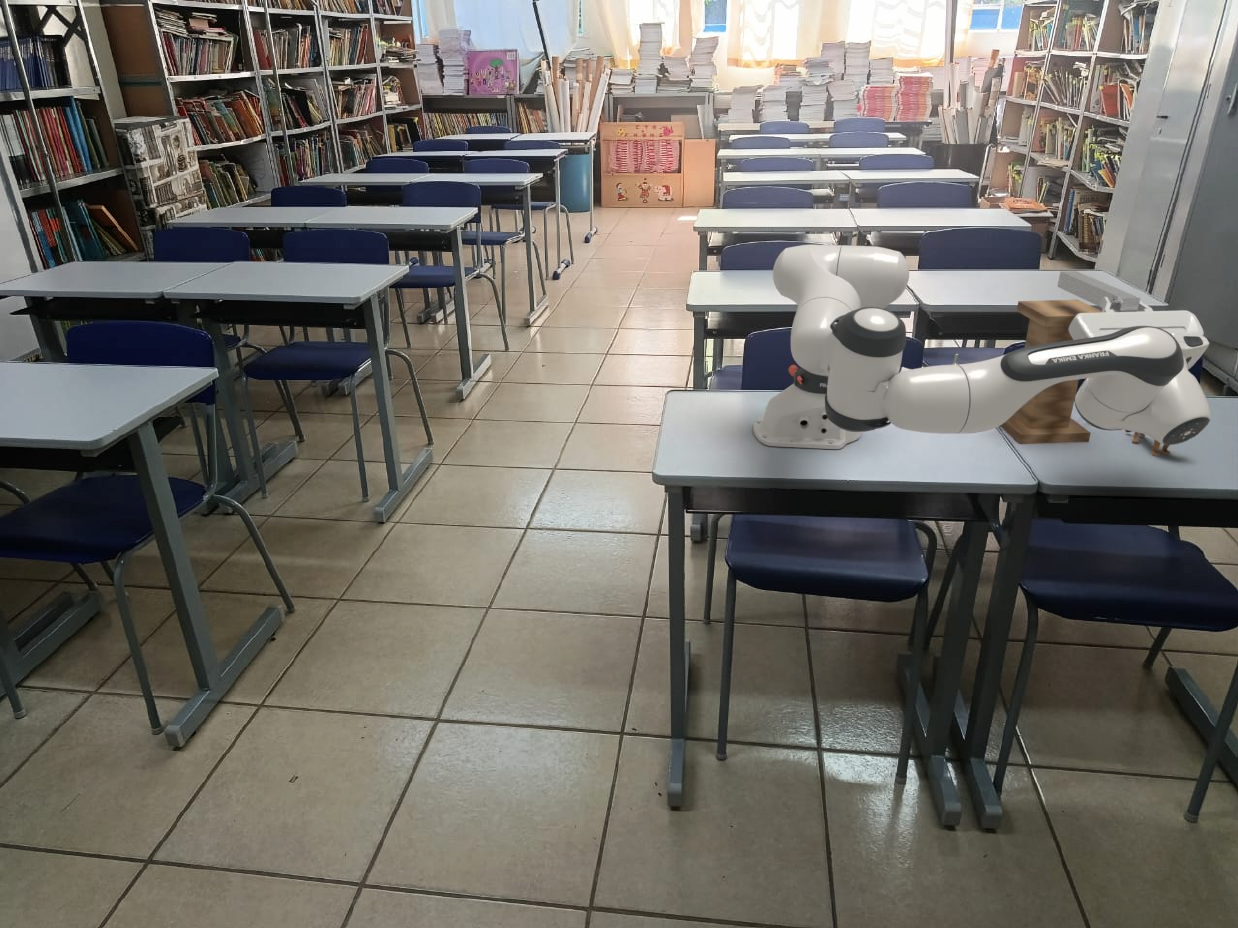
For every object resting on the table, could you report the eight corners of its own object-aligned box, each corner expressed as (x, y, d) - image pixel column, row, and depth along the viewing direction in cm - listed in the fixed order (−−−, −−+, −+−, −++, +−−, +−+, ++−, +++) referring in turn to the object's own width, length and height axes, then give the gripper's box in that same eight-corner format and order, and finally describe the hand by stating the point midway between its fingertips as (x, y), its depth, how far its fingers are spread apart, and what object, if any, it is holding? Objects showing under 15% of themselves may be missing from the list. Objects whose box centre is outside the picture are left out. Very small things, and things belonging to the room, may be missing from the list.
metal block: (1118, 315, 143) (1122, 298, 142) (1057, 286, 163) (1060, 271, 162) (1136, 315, 143) (1140, 298, 142) (1072, 286, 163) (1075, 271, 162)
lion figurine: (1192, 461, 158) (1204, 417, 154) (1167, 464, 157) (1179, 420, 154) (1135, 432, 171) (1145, 391, 168) (1112, 434, 171) (1122, 393, 167)
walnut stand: (1019, 443, 168) (1043, 318, 157) (990, 418, 180) (1011, 300, 169) (1088, 441, 168) (1117, 316, 157) (1055, 416, 180) (1079, 298, 169)
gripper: (1077, 371, 140) (1051, 313, 148) (1198, 368, 140) (1166, 310, 148) (1094, 346, 135) (1066, 287, 143) (1220, 342, 135) (1185, 284, 143)
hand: (1118, 299), depth 146 cm, fingers closed on metal block, 3 cm apart
